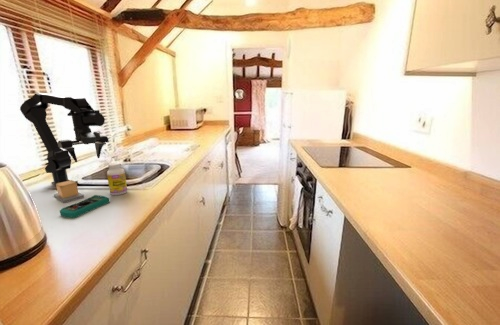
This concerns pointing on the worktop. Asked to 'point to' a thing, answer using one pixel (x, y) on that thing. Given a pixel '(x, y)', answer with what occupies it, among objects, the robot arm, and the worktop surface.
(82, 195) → the post board
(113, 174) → the supplement bottle
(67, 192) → the tan wooden block
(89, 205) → the digital multimeter
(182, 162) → the worktop surface
